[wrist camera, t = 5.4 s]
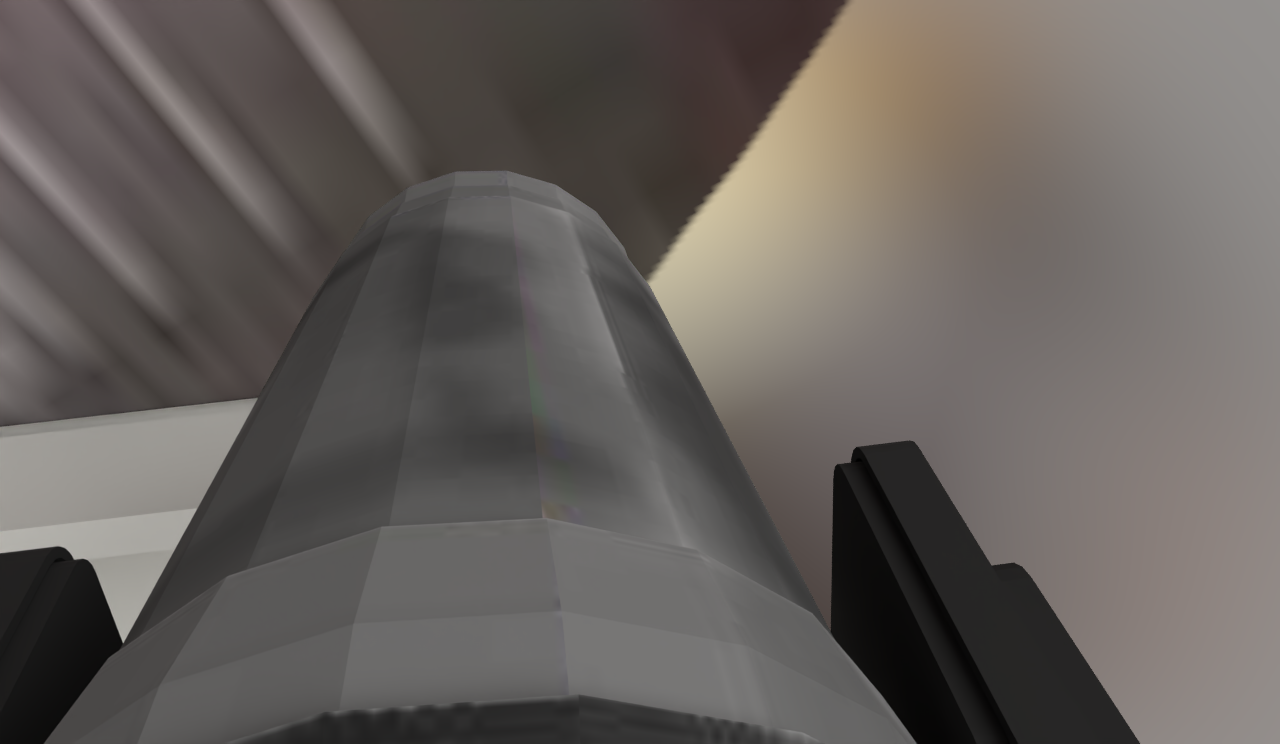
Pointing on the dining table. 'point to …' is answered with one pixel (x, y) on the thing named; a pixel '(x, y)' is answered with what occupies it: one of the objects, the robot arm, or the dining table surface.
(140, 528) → the white bin
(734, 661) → the beverage cup
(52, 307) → the dining table surface
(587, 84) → the dining table surface
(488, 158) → the dining table surface
